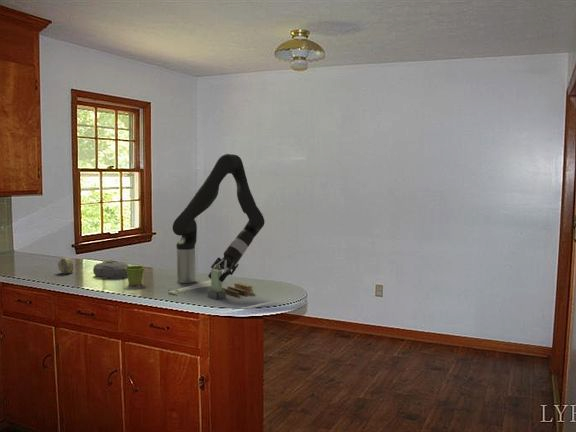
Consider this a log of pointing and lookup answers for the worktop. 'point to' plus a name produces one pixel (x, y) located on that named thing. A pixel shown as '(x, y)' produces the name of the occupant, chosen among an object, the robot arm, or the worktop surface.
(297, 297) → the worktop surface
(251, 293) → the pine offcut low
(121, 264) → the small grey backpack
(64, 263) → the garlic bulb
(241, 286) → the pine offcut top
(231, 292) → the walnut rack
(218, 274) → the green board
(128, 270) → the plant pot
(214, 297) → the grey holder
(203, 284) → the baseboard molding
